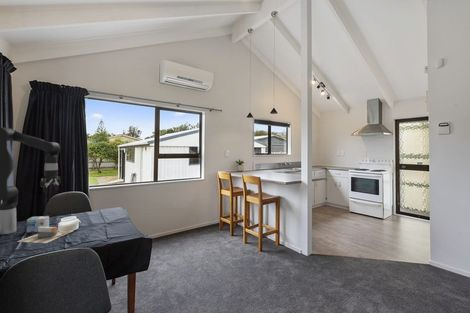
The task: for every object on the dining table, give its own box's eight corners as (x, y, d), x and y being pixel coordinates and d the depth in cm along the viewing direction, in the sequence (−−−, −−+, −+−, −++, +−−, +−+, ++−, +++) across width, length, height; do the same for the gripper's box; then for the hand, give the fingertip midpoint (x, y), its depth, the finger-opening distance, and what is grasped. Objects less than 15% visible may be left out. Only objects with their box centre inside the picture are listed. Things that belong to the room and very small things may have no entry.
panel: (16, 243, 142) (16, 241, 142) (48, 231, 164) (48, 229, 164) (46, 245, 140) (46, 242, 140) (74, 232, 162) (74, 230, 162)
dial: (32, 237, 147) (32, 229, 147) (46, 232, 157) (46, 224, 157) (49, 238, 146) (49, 230, 146) (62, 233, 156) (62, 225, 156)
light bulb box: (26, 234, 158) (26, 219, 157) (32, 231, 164) (32, 216, 164) (44, 233, 160) (44, 218, 160) (49, 230, 167) (49, 215, 167)
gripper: (55, 168, 171) (54, 189, 171) (37, 169, 157) (36, 192, 157) (64, 168, 170) (63, 190, 170) (46, 170, 156) (46, 193, 156)
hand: (50, 191), depth 164 cm, fingers open, 8 cm apart
